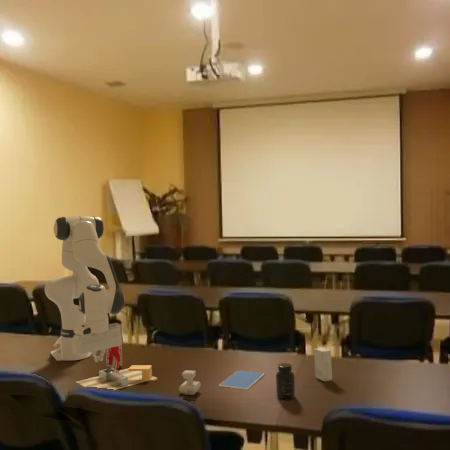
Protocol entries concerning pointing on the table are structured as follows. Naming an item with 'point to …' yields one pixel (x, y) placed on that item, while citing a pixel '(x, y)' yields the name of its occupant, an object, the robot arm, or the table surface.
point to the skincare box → (323, 364)
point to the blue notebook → (242, 380)
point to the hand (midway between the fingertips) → (98, 361)
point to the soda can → (114, 357)
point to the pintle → (108, 368)
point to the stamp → (189, 383)
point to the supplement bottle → (285, 382)
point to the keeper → (143, 370)
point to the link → (113, 377)
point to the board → (133, 379)
